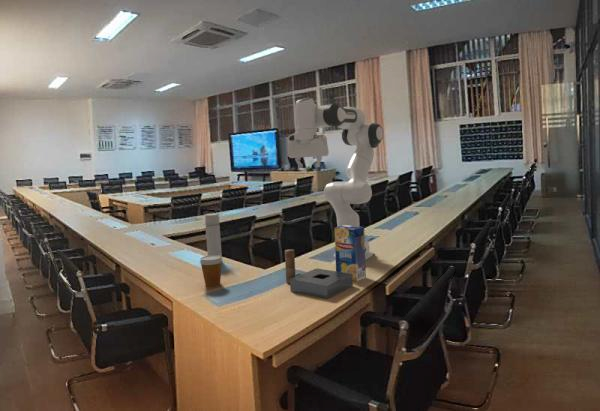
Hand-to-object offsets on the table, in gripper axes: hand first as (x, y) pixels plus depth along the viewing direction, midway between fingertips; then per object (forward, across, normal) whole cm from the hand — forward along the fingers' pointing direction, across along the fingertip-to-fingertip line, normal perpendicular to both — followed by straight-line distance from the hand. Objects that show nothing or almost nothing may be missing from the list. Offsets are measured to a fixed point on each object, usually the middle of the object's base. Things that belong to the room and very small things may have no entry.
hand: (308, 167), depth 196 cm
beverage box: (+48, -17, -2) cm, 51 cm away
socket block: (+48, -15, +16) cm, 53 cm away
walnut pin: (+48, +1, +17) cm, 50 cm away
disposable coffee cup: (+47, +28, +36) cm, 66 cm away
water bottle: (+47, +60, +9) cm, 76 cm away
